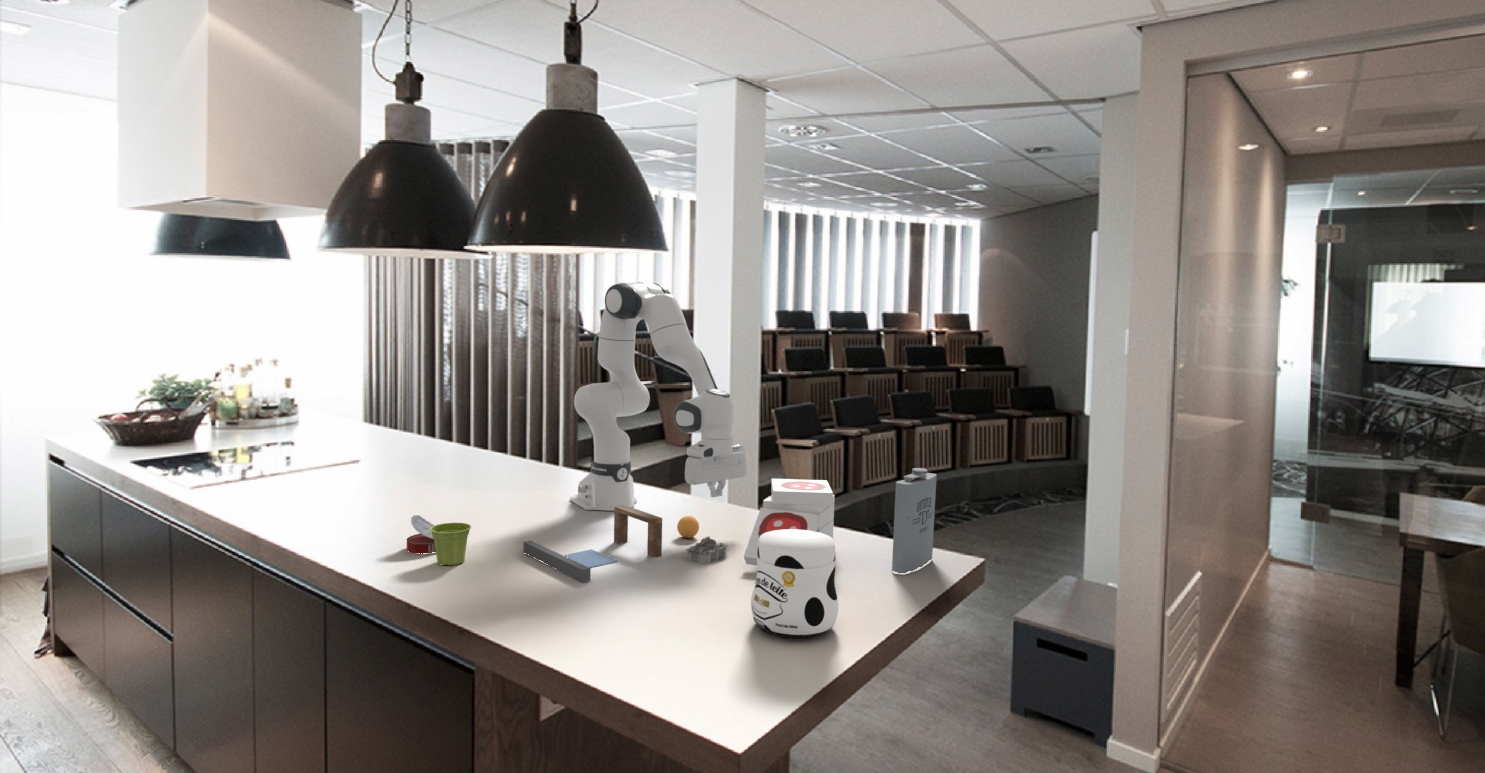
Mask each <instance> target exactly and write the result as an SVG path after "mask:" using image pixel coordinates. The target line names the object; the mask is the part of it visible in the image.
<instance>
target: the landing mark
mask: <svg viewBox="0 0 1485 773" xmlns="http://www.w3.org/2000/svg"><path fill="white" fill-rule="evenodd" d="M567 554H568V555H567ZM567 554H563V555H564V556H565V557H568V558H570V559H572V560H574V561H576V562H578V563H580V564H582V565H585V566H587V567H589V568H591V569H592V568H596V567H600V566H604V565H609V564H613V563H618V562H619V560H618V559H615V558H612V557H610V556H608V555H605V554H604V553H601V552H599V551H597V550H594V549H592V548H591V549H586V550H583V551H582V550H581V551H578V552H572V553H567Z"/></svg>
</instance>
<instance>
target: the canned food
mask: <svg viewBox="0 0 1485 773" xmlns="http://www.w3.org/2000/svg"><path fill="white" fill-rule="evenodd" d="M410 519H411V520H410V522H411V523H410V524H411V526H412V527H413V528H414V530H415V531H416V532H418V534H413V535H410V536H408V537H407V538H406V551H407V550H408V551H409V552H412V553H420V554H421V553H422V554H423V553H432V552H436V549H435V543H434V538H433V536H432V532H431V531H430V528H431V527H432V526H435V525H436V524H433V523H431V522H429V521H428V520H426V519H425V518H424V517H422V516H421V515H419V514H416V515H413V516H412V517H411V518H410ZM409 552H408V553H409Z"/></svg>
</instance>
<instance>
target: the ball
mask: <svg viewBox="0 0 1485 773" xmlns="http://www.w3.org/2000/svg"><path fill="white" fill-rule="evenodd" d="M676 528H677V532H678V534H679V535H680V536H681V537H683V538H685V539H691V538H693V537H695V536H696V535H697V534H698V533H699V531H700V530H699V529H700V523H699V521H698V520H697V518H696V517H695V516H692V515H685V516H682V517H681V518H680V519H679V520H678V522H677V524H676Z"/></svg>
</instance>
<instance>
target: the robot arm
mask: <svg viewBox="0 0 1485 773" xmlns="http://www.w3.org/2000/svg"><path fill="white" fill-rule="evenodd" d="M604 306H605V307H604V309H603V312H602V315H601V320H600V326H599V335H598V336H599V337H598V348H597V361H598V364H599V365H600V367H602V368H603V369H604V370H606V371H607V372H608V373H609V379H610V380H609V382H595V383H593V382H592V383H590V384H587V385H583V386H580V387H579V388H578V389H577V390H576V392H575V395H574V399H573V404H574V405H573V406H574V409H575V411H576V412H577V414H578V415H579V416H580V417H581V418H583V419H584V420H585V421H586V423H587V424H588V427H589V428H590V431H591V433H592V434H591V435H592V440H593V461H590V462H589V463H591V464H589V466H591V467H590V470H589V471H590V472H589V473H588V474H587V475H586V476H584V478H582V479H581V480H580V481H579V482H578V485H577V486H578V487H577V494H575V495H572V496H570V499H569V500H570V502H572V503H574V504H575V505H577V506H578V507H580V508H582V509H584V510H585V511H608V512H609V511H610V512H611V511H614V506H620V505H626V506H629V507H632V508H634V506H635V504H636V503H637V502H638V500H637V498H635V490H634V488H635V487H634V478H633V476H632V475H631V473H632V462H631V460H630V458H631V457H630V456H631V455H630V454H631V451H630V450H631V438H630V436H629V435H628V433H627V432H625V431H624V430H623V429H621V428H619V425H618V421H617V418H619V417H621V418H622V417H624V418H625V417H631V416H635V415H639V414H641V413H643V412H645V411H646V410H647V408H648V407H649V405H650V401H651V397H650V391H649V390H648V388H647V387H646V385H645V384H643V382H642V381H641V380H640V378H639V376H638V373H637V371H636V367H635V353H636V352H635V348H636V334H637V333H636V330H637V325H638V324H639V323H640V321H641V320H643V321H645V323H646V325H647V328H648V332H649V336H650V339H651V343H652V346H653V349H654V350H655V352H656V354H657V355H658V357H660V358H661V359H663V360H664V361H666V362H669V363H671V364H674V365H676V366H678V367H679V368H682V369H683V370H684V371H686V373H687V375H689V377H690V379H691V381H692V384H693V386H694V388H695V392H696V393H697V396H695V397H693V398H690V399H689V398H688V399H687V400H683V401H680V402H678V403H677V404H676V406H675V407H674V411H673V422H674V426H675V427H676V429H677V430H678V431H679V432H681V433H684V434H697V433H698V434H699V433H700V435H701V438H700V439H701V440H699V441H698V442H696V443H694V444H692V445H691V446H690V445H689V447H687V449H686V453H685V454H686V455H687V456H688V457H687V458H686V461H685V465H684V480H685V482H686V483H687V484H688V485H692V486H697V485H703V484H707V487H708V488H709V491H710V497H711V498H718V497H722V496H723V490H724V488H725V486H726V483H727V480H733V479H740V478H744V477H745V476H746V475H747V460H746V455H745V448H744V447H743V446H742V445H741V444H737V445H734V443H733V441H734V438H733V437H734V435H733V431H732V428H733V423H734V406H733V398H732V396H731V394H730V393H729V392H727V391H725V390H723V389H718V386H717V384H716V381H715V379H714V377H713V374H712V371H711V369H710V367H709V365H708V363H707V360H706V357H705V356H704V354H703V352H702V351H701V350H700V348H699V347H698V346H697V344H696V343H695V341H694V339H693V337H692V336H691V333H690V330H689V328H688V324H687V321H686V319H685V316H684V313H683V311H682V309H681V306H680V304H679V303H678V301H677V299H676V297H675V296H673V295H672V293H671V292H670V290H669V289H668V287H665V285H663V284H659V283H650V282H643V281H639V282H629V283H628V282H620V283H616V284H613V285H611V286H610V287H608V289H607V290H606V292H605V296H604ZM716 485H717V487H715V486H716Z"/></svg>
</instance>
